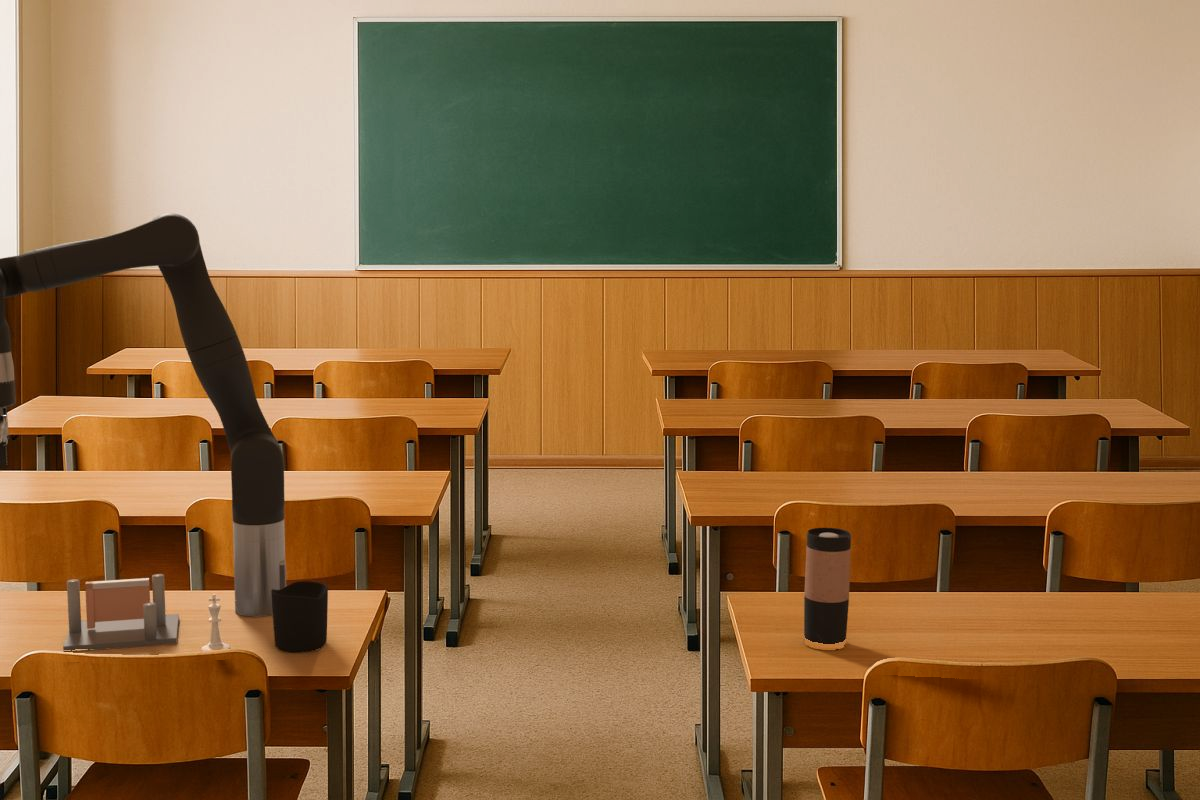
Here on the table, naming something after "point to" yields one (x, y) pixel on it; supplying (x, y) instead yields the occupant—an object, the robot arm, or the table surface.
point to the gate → (116, 600)
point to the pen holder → (300, 616)
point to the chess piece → (215, 628)
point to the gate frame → (122, 624)
